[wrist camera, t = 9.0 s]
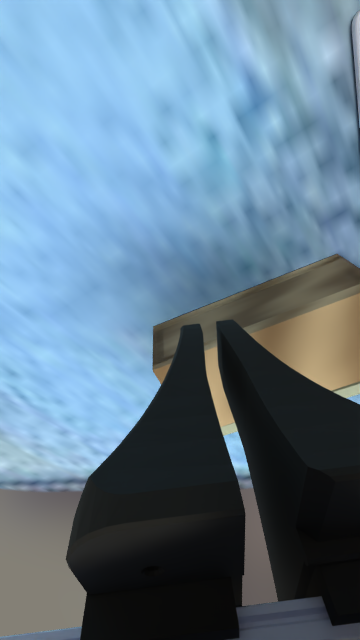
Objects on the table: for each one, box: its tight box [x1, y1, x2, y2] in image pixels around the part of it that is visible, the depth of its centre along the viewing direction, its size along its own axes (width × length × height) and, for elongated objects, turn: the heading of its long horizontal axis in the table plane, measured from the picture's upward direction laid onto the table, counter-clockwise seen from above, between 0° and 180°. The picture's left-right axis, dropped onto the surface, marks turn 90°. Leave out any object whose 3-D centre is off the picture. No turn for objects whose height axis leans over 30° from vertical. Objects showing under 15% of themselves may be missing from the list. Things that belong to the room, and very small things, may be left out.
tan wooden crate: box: [153, 254, 360, 427], centre depth 21 cm, size 14×7×5 cm, turn 113°
